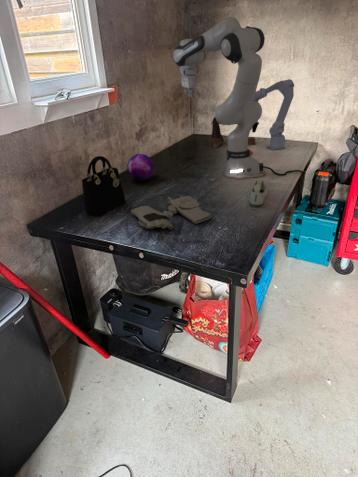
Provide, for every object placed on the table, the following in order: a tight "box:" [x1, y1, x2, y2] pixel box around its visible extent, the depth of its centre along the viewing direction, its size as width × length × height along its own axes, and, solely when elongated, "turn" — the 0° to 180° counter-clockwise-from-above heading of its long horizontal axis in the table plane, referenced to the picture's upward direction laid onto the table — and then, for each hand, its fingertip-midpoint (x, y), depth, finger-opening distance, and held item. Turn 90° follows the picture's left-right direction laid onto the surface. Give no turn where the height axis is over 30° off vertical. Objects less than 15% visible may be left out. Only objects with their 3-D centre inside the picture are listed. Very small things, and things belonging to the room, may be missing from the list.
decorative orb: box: [126, 153, 155, 182], centre depth 186 cm, size 15×15×15 cm
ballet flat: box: [249, 179, 269, 207], centre depth 158 cm, size 8×24×8 cm, turn 163°
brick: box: [248, 136, 256, 146], centre depth 245 cm, size 5×4×4 cm
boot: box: [210, 116, 225, 149], centre depth 246 cm, size 9×24×20 cm, turn 168°
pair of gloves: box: [130, 195, 212, 230], centre depth 145 cm, size 30×26×5 cm
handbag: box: [81, 155, 126, 217], centre depth 153 cm, size 21×9×25 cm, turn 148°
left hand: (188, 96), depth 201 cm, fingers open, 8 cm apart
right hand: (251, 131), depth 242 cm, fingers open, 7 cm apart
